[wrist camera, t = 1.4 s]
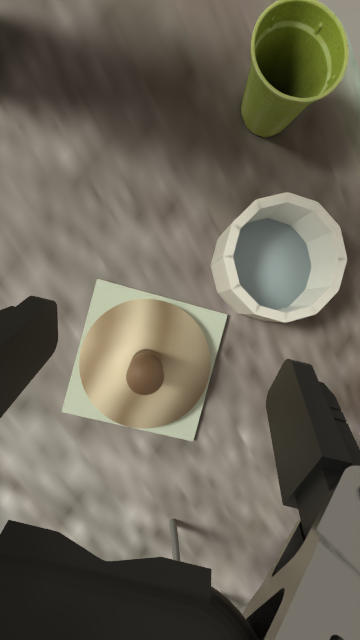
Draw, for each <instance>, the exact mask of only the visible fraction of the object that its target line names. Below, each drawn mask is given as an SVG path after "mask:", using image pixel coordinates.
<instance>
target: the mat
mask: <svg viewBox="0 0 360 640" xmlns="http://www.w3.org/2000/svg"><path fill="white" fill-rule="evenodd" d="M136 299H156V300H161V301H165V302H168V303H171V304H173V305H175V306H177V307H179V308H180V309H182V310H183V311H185V312H186V313H187V314H188V315H190V316H191V317H192V318H193V319H194V320H195V322H196V323H197V324H198V325H199V327H200V328H201V330H202V332H203V334H204V336H205V338H206V340H207V343H208V346H209V351H210V361H211V365H210V374H209V379H208V382H207V385H206V388H205V390H204V392H203V394H202V396H201V397H200V399H199V400H198V402H197V403H196V404H195V405H194V407H193V408H192V409H191V410H190V411H188V412H187V413H186V414H185V415H184V416H182V417H181V418H179V419H178V420H176V421H174V422H172V423H169V424H167V425H164V426H160V427H156V428H147V429H143V428H136V429H140V430H144V431H149V432H153V433H158V434H162V435H167V436H171V437H176V438H180V439H185V440H189V441H193V440H194V437H195V433H196V429H197V426H198V422H199V418H200V415H201V411H202V407H203V404H204V400H205V396H206V392H207V389H208V385H209V381H210V378H211V374H212V370H213V367H214V363H215V359H216V356H217V352H218V348H219V344H220V341H221V337H222V333H223V330H224V326H225V322H226V319H227V315H226V314H223V313H219V312H216V311H212V310H208V309H205V308H201V307H197V306H194V305H190V304H187V303H183V302H179V301H176V300H172V299H168V298H165V297H161V296H158V295H154V294H150V293H147V292H143V291H139V290H136V289H132V288H129V287H125V286H121V285H118V284H114V283H111V282H107V281H103V280H100V279H97V282H96V286H95V289H94V293H93V297H92V300H91V304H90V308H89V312H88V315H87V319H86V323H85V327H84V330H83V334H82V338H81V342H80V345H79V349H78V353H77V356H76V360H75V364H74V368H73V371H72V375H71V379H70V383H69V386H68V390H67V394H66V398H65V401H64V405H63V409H62V412H64V413H68V414H73V415H77V416H82V417H86V418H91V419H95V420H100V421H104V422H109V423H113V424H118V425H121V424H119V423H116V422H114V421H112V420H111V419H109V418H107V417H106V416H105V415H103V414H102V413H101V412H100V411H99V410H98V409H97V408H96V407H95V406H94V405H93V404H92V402H91V401H90V399H89V398H88V396H87V394H86V392H85V390H84V388H83V385H82V382H81V377H80V371H79V358H80V352H81V347H82V344H83V341H84V339H85V337H86V335H87V333H88V331H89V330H90V328H91V327H92V325H93V324H94V323H95V322H96V320H97V319H98V318H99V317H100V316H102V315H103V314H104V313H105V312H106V311H108V310H110V309H111V308H113V307H115V306H117V305H119V304H121V303H124V302H127V301H131V300H136ZM122 426H124V425H122ZM127 427H128V426H127ZM131 428H132V427H131Z"/></svg>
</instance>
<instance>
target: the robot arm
mask: <svg viewBox="0 0 360 640" xmlns="http://www.w3.org/2000/svg"><path fill="white" fill-rule="evenodd" d="M57 342H58V319H57V304H56V302H55V301H52V300H48V299H44V298H40V297H36V296H29V297H28V298H27V299H25V300H24V301H23V302H21V303H20V304H19V305H17V306H16V307H14V306H10V307H8V308H5V309H2V310H0V418H1V417H2V415H3V414H4V413H5V412H6V411H7V409H8V408H9V407H10V406H11V404H12V403H13V402H14V401H15V400H16V398H17V397H18V396H19V395H20V393H21V392H22V391H23V390H24V389H25V387H26V386H27V385H28V384H29V383H30V381H31V380H32V379H33V378H34V376H35V375H36V374H37V373H38V372H39V370H40V369H41V368H42V367H43V365H44V364H45V363H46V362H47V361H48V359H49V358H50V357H51V356H52V354H53V353H54V351H55V349H56V346H57ZM266 409H267V415H268V421H269V427H270V432H271V438H272V444H273V450H274V456H275V461H276V467H277V473H278V479H279V485H280V490H281V496H282V502H283V505H285V506H289V507H293V508H297V509H298V510H299V514H300V519H299V520H298V522H297V523H296V524H295V526H294V528H293V530H292V532H291V533H290V535H289V537H288V539H287V541H286V542H285V544H284V546H283V548H282V550H281V552H280V553H279V555H278V557H277V559H276V561H275V562H274V564H273V566H272V568H271V570H270V572H269V573H268V575H267V577H266V579H265V580H264V582H263V583H262V585H261V586H260V588H259V589H258V591H257V592H256V593H255V595H254V596H253V597H252V599H251V600H250V602H249V603H248V605H247V607H246V608H245V610H244V612H243V613H242V614H241V612H240V611H239V610H238V609H237V608H236V607H235V606H234V605H233V604H232V603H231V602H230V601H229V600H228V599H227V598H226V597H225V596H224V595H222V594H221V593H220V592H219V591H218V590H216V589H215V588H213V587H211V569H209V568H205V567H201V566H197V565H192V564H188V563H184V562H180V561H176V560H172V559H168V558H164V557H156V558H145V559H133V560H122V561H104V560H102V559H100V558H98V557H97V556H95V555H94V554H92V553H90V552H89V551H87V550H86V549H84V548H83V547H81V546H80V545H78V544H76V543H75V542H73V541H72V540H70V539H69V538H67V537H66V536H64V535H62V534H61V533H59V532H57V531H53V530H48V529H44V528H40V527H36V526H32V525H28V524H24V523H20V522H16V521H11V520H8V522H7V524H6V525H5V527H4V529H3V531H2V532H1V534H0V640H360V450H359V448H358V445H357V443H356V441H355V439H354V437H353V434H352V432H351V430H350V428H349V426H348V424H346V419H345V417H344V415H343V413H342V412H341V408H340V406H339V404H338V402H337V400H336V397H335V395H334V394H333V393H332V392H331V391H330V390H329V389H328V387H327V386H326V385H325V384H324V383H322V382H319V381H318V379H317V376H316V374H315V372H314V369H313V367H312V365H310V364H307V363H303V362H299V361H295V360H291V359H287V360H285V361H284V363H283V365H282V366H281V368H280V370H279V372H278V374H277V376H276V378H275V380H274V382H273V384H272V385H271V387H270V389H269V392H268V395H267V400H266Z"/></svg>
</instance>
